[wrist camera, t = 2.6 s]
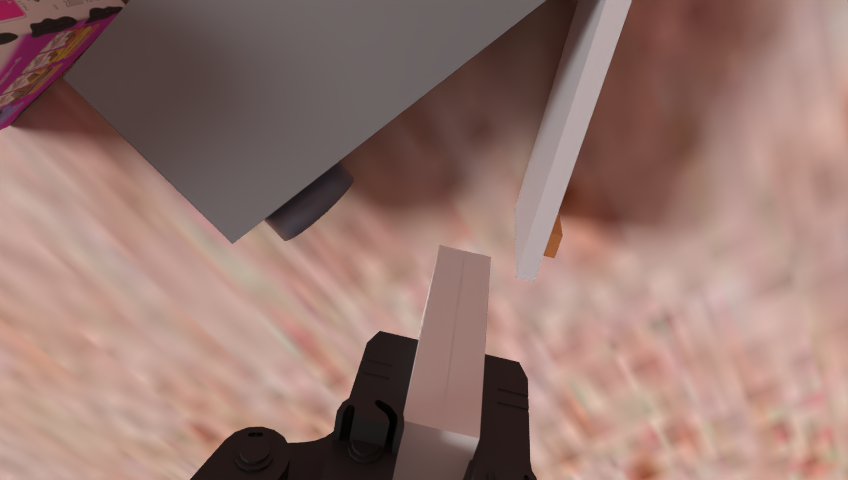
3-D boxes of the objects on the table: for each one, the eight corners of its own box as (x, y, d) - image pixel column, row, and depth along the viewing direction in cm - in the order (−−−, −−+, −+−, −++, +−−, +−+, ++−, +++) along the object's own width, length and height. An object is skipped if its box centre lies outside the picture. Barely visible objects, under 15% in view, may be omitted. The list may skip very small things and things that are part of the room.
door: (548, 216, 31) (557, 288, 25) (510, 208, 31) (511, 277, 25) (640, -54, 24) (680, -41, 18) (592, -65, 24) (617, -55, 18)
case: (305, 201, 32) (252, 279, 26) (155, 41, 29) (48, 83, 22) (599, -24, 25) (632, 3, 18) (445, -270, 22) (416, -348, 15)
